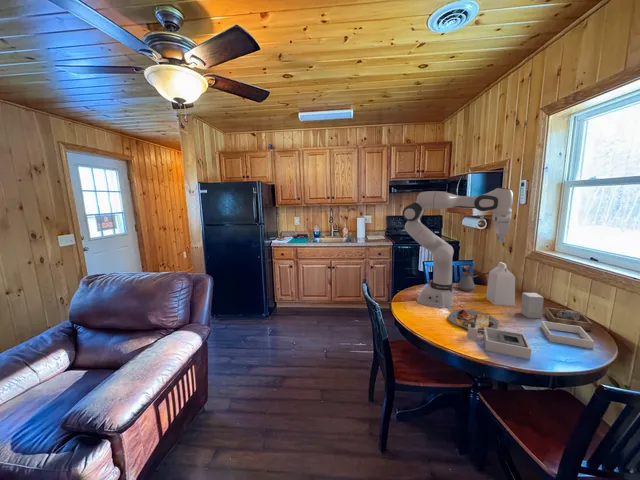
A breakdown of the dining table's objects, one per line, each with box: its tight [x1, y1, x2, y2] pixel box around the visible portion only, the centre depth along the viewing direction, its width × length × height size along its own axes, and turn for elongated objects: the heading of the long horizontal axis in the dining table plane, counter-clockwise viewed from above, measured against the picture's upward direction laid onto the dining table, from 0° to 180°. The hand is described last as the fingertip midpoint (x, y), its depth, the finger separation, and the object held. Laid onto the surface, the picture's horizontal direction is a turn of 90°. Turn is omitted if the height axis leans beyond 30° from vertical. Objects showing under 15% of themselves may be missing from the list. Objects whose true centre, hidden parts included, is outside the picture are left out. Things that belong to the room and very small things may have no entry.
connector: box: [467, 321, 479, 342], centre depth 129 cm, size 4×4×8 cm
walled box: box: [483, 327, 532, 361], centre depth 121 cm, size 16×14×5 cm
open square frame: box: [540, 320, 595, 349], centre depth 127 cm, size 15×15×4 cm
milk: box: [485, 261, 516, 306], centre depth 170 cm, size 12×12×26 cm
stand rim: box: [544, 307, 593, 332], centre depth 142 cm, size 15×15×4 cm
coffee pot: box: [457, 271, 490, 292], centre depth 192 cm, size 21×12×15 cm, turn 65°
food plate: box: [447, 308, 500, 332], centre depth 146 cm, size 25×23×4 cm
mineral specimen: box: [556, 310, 582, 321], centre depth 141 cm, size 10×8×10 cm
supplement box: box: [520, 292, 545, 319], centre depth 150 cm, size 7×7×13 cm
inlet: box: [497, 332, 525, 347], centre depth 120 cm, size 9×9×4 cm
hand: (499, 241), depth 148 cm, fingers open, 8 cm apart
